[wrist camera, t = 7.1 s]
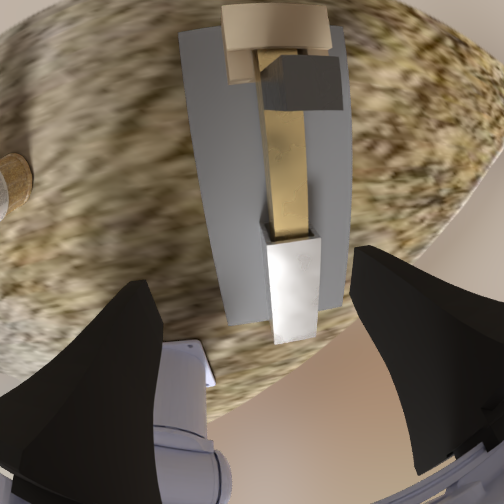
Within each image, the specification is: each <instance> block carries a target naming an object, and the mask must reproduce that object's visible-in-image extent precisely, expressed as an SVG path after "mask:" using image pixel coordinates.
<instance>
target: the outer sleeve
mask: <svg viewBox="0 0 504 504" xmlns="http://www.w3.org/2000/svg"><path fill="white" fill-rule="evenodd" d="M259 228H260V238H261V248H262V258H263V268H264V278H265V289H266V299H267V310H268V318H269V322H270V327H271V331H272V335H273V340H274V344H281V343H287V342H292V341H297V340H303V339H308V338H312V337H316V329H317V317H318V302H319V285H320V263H321V237H320V235H319V234H318V232H317V231H316V230H315V228H314V227H313V225H312V224H311V223H310V221H309V220H308V237H305V238H298V239H291V240H284V241H277V242H271V238H270V225H269V221H265V222H259Z"/></svg>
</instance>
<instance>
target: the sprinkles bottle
mask: <svg viewBox="0 0 504 504" xmlns="http://www.w3.org/2000/svg"><path fill="white" fill-rule="evenodd" d="M31 190H32V174H31V171H30V168H29V165H28V163H27V161H26V160H25V159H24V157H22V156H21V155H19V154H16V153H11V154H8V155H6V156H5V157H3V158H2V159H0V221H1V220H2V219H3V218H4V217H5V216H6V215H7V214H9V213H10V212H11V211H13V210H14V209H16V208H18V207H20V206H22V205H24V204H25V203H26V201H27V200H28V199H29V197H30V194H31Z"/></svg>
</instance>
